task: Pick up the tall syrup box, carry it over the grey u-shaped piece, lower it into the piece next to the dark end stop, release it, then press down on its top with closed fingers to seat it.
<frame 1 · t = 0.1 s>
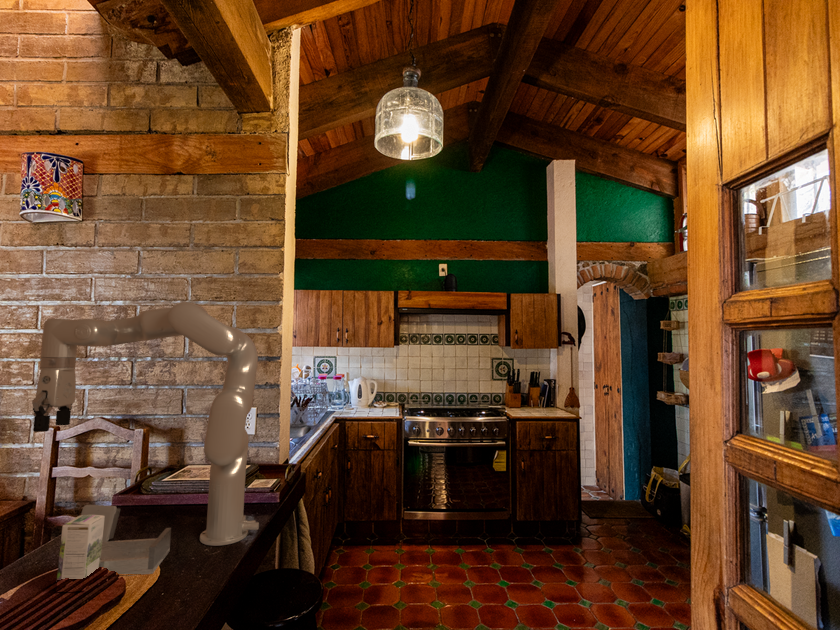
hand: (52, 428, 118), 31 cm above the counter, tool pointing down, fingers open, 9 cm apart
syrup box: (78, 587, 98), on the counter
electrical switch: (96, 540, 122), on the counter
grey u-shaped piece: (121, 564, 108), on the counter
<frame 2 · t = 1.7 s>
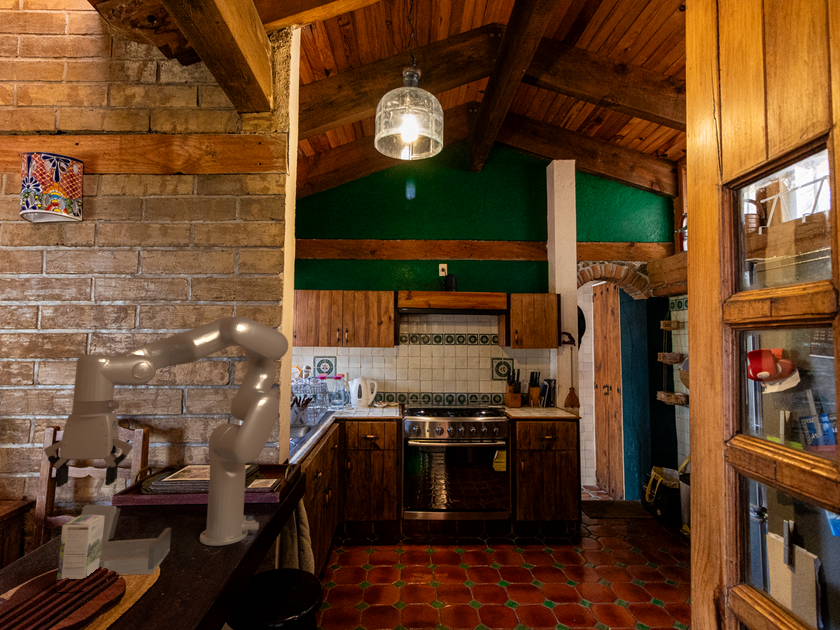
hand: (86, 484, 100), 22 cm above the counter, tool pointing down, fingers open, 9 cm apart
nothing on the counter moved.
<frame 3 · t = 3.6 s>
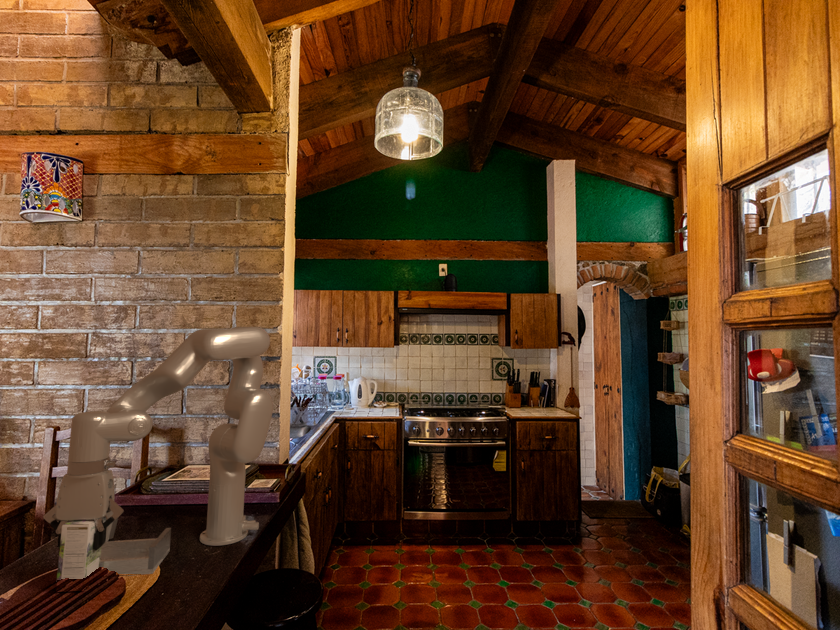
hand: (81, 547, 99), 8 cm above the counter, tool pointing down, fingers closed on syrup box, 6 cm apart
syrup box: (78, 586, 98), on the counter, touching gripper
everything else where it was.
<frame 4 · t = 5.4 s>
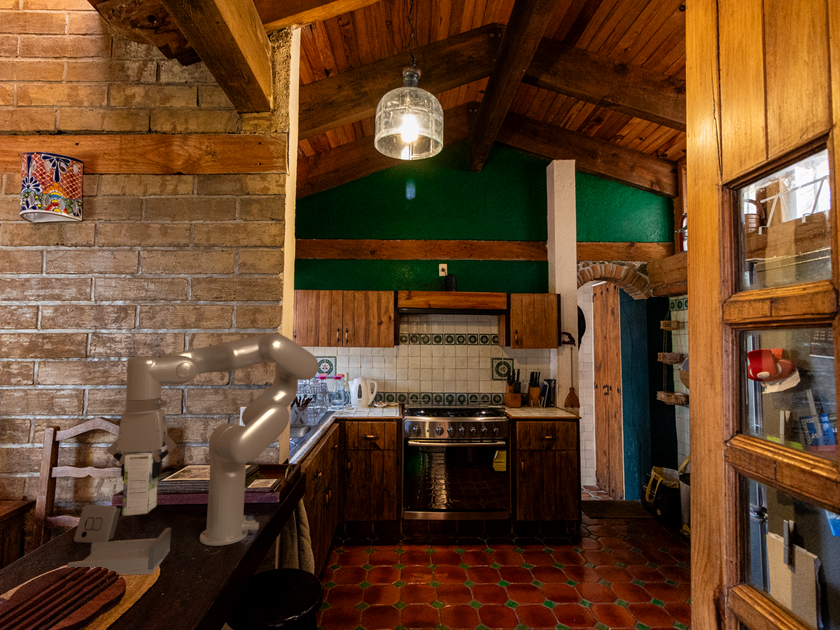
hand: (141, 477, 110), 21 cm above the counter, tool pointing down, fingers closed on syrup box, 6 cm apart
syrup box: (140, 512, 109), point 13 cm above the counter, touching gripper
everything else where it was.
when the fingers open (10 cm above the counter, at t = 7.7 s): syrup box stays where it is, resting on grey u-shaped piece.
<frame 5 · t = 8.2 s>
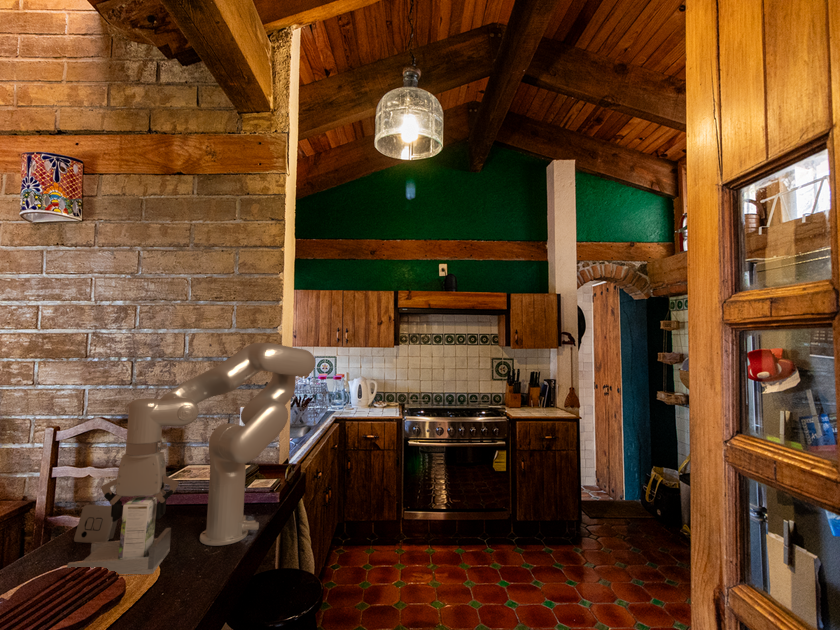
hand: (138, 518, 109), 11 cm above the counter, tool pointing down, fingers open, 9 cm apart
syrup box: (135, 561, 108), point 1 cm above the counter, touching grey u-shaped piece
everything else where it was.
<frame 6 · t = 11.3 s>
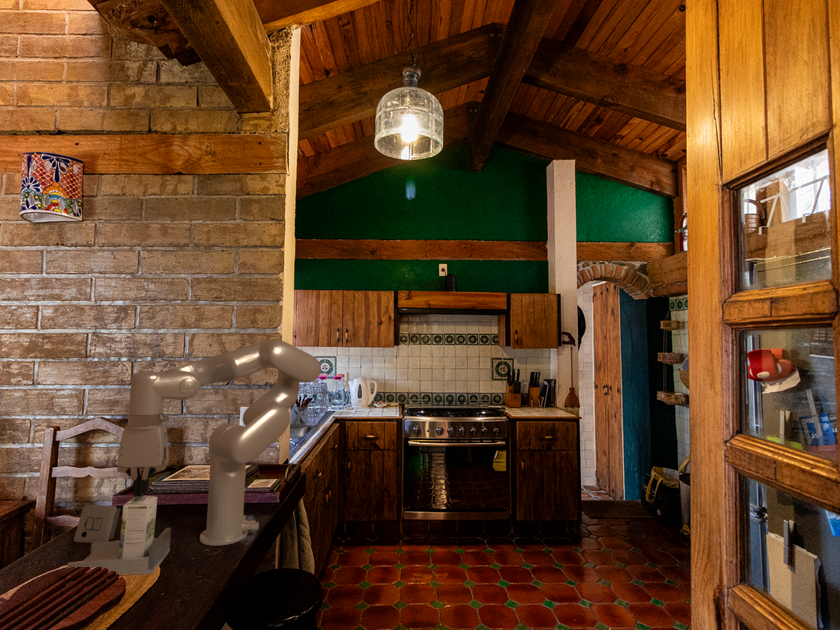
hand: (140, 494, 110), 17 cm above the counter, tool pointing down, fingers closed
nothing on the counter moved.
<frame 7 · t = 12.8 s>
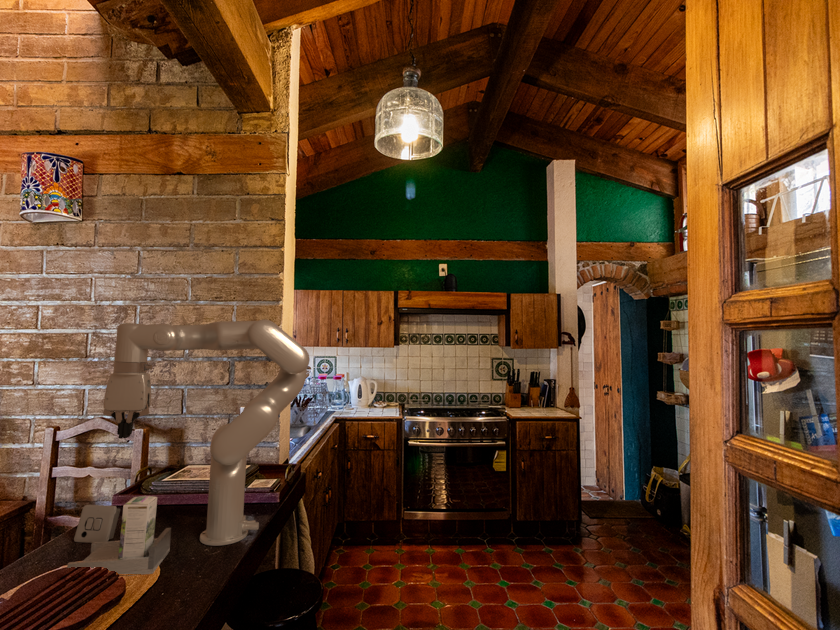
hand: (124, 437, 118), 29 cm above the counter, tool pointing down, fingers closed
nothing on the counter moved.
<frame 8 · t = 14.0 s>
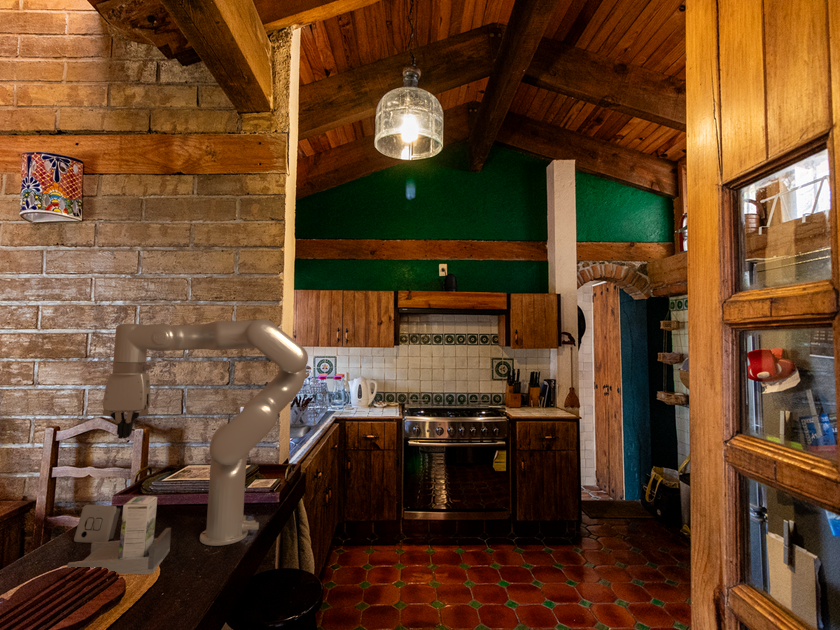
hand: (124, 437, 118), 29 cm above the counter, tool pointing down, fingers closed
nothing on the counter moved.
at the end: syrup box 0.6 cm from the target spot, point 0.8 cm above the counter; syrup box tilted 0° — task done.
